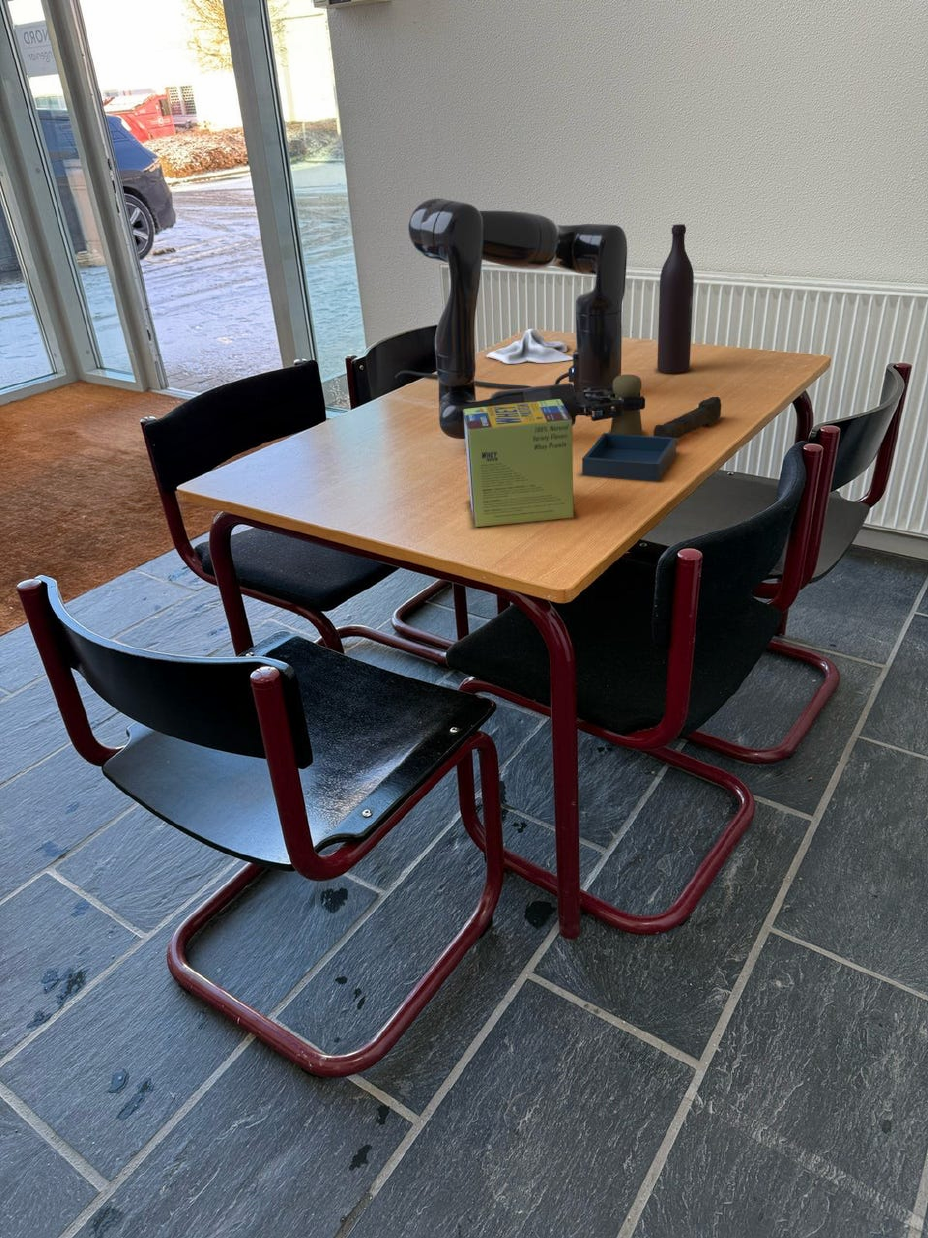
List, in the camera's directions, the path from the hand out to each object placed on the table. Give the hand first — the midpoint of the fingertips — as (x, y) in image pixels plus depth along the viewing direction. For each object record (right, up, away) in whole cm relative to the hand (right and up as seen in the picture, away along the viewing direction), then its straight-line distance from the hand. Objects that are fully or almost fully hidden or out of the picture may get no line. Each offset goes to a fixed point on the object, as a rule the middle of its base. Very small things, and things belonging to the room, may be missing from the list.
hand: (641, 398), depth 165 cm
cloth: (-15, +25, +59) cm, 66 cm away
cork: (-2, -6, +3) cm, 7 cm away
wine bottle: (+15, +15, +38) cm, 44 cm away
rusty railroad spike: (+9, -6, +3) cm, 11 cm away
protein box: (-23, -23, -23) cm, 40 cm away
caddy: (-4, -14, -10) cm, 17 cm away
